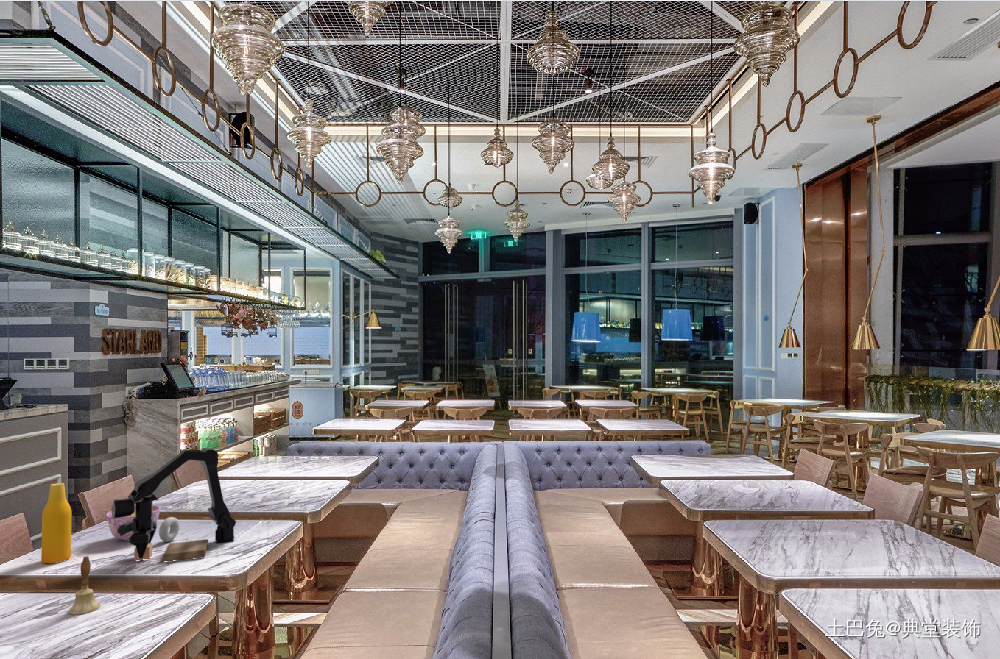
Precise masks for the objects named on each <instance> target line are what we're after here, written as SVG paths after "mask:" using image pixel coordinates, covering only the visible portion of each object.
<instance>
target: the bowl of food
mask: <svg viewBox="0 0 1000 659" xmlns="http://www.w3.org/2000/svg"><path fill="white" fill-rule="evenodd" d="M160 512H161V506H159V505H156V504H154V505H153V504H152V514H153V517H152V521H155V522H156V523H157V524H158V520H159V516H160ZM134 518H135V510H134V513H133V514H131V516H126V517H120V518H115V519H113V518H112V511H111V510H110V511H108V512H107V513H106V520H107V523H108V527H109V531H110V533H111V535H112V537H114V538H116V539H119V540H122V541H123V540H124V541H123V542H128V541H127V540H129V538H130V536H131V535H132V534H133V533H134V532H133V531H131V532H128V533H126V534H124V535H123V536H120V534H119V533H117V532H118V530H117V528H118V527H119V526H120V525H123V524H124V523H128V522H130V521H133V519H134ZM152 530H154V528H152ZM125 540H126V541H125Z"/></svg>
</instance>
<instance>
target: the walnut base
mask: <svg viewBox="0 0 1000 659" xmlns="http://www.w3.org/2000/svg"><path fill="white" fill-rule="evenodd" d="M207 548H209V538H208V539H197V540H191V541H190V540H189V541H181V542H171V543H169V544H168V545H167V547H166V549H165V551H164V553H163V556H162V558H163V560H162V561H163V562H164V561H173V560H181V561H186V560H185V559H189V560H194V559H193V558H198V559H202V558H201V557H206V554H207V552H208V549H207ZM206 551H207V552H206ZM163 562H162V563H163ZM173 562H174V561H173ZM164 563H165V562H164Z"/></svg>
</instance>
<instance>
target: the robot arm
mask: <svg viewBox="0 0 1000 659" xmlns="http://www.w3.org/2000/svg"><path fill="white" fill-rule="evenodd" d="M188 461H199V462H200V464H201V466H202V468H203V470H204V471H205V475H206V480H207V485H208V490H209V495H210V500H211V507H208V508H207V511H208V515H209V516H208V518H210V519H211V521H213V522H215V525H217V526H216V529H215V532H214V533H215V535H214V536H215V542H216V544H220V543H222V542H223V543H229V542H230V541H232V542H234V540H235V530H234V529H235V526H236V523H237V520H235V519H234V518H233V517H231V512H230V510H229V508H228V506H227V505H226V503H225V501H224V497H223V492H222V487H221V484H220V483H221V482H220V477H219V472H218V465H219V453H218V451H217V450H215V449H214V448H210V447H204V448H201V449H187V448H185V449H183V450H181V451H180V452H179V453H178V454H176V455H175V456H174V457H173V458H172V459H170V460H169V461H168V462H166V463H165V464H164V465H163V466H161V467H160V468H159V469H158V470H156V471H155V472H153V473H151V474H149V475H147V476H145V477H142V478H141V479H139V480H138V481H136V482H135V483H134V487H133V490H132V491H131V492H130V494H129V495H128V496H127V498H121V499H119V498H117V499H113V502H112V505H111V510H110V511H112V518H113V519H115V518H120V517H126V516H131V514H133V513H134V510H135V518H134V519H133V521H130V522H128V523H124V524H123V525H120V526H119V527H118V528H117V530H118V532H117V533H119V534H120V536H123V535H124V534H126V533H128V532H131V531H133V532H134V533H133V534H132V535H131V536H130V538H129V541H128V543H130V545H133V546H135V547H136V549H137V552H138V556H139V558H143V556H144V553H145V551H146V548H147V546H148V544H149V543H152V540H153V538H154V536H155V533H156V531H157V528H158V522H157V523H156V522H155V521H152V517H153V514H152V505H153V502H154V501H159V497H157V496H156V495H155V494H154V492H155V491H156V490H157V489H158V488H159V486H160V485H161V483H162V482H163V481H165V479H166V478H168V477H169V476H171V474H173V473H175V471H177V470H178V469H179V468H180V467H182V466H183V465H184V464H186V463H187V462H188ZM152 528H154V530H152ZM223 543H222V544H223Z"/></svg>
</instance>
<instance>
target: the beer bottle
mask: <svg viewBox="0 0 1000 659" xmlns="http://www.w3.org/2000/svg"><path fill="white" fill-rule="evenodd" d="M72 514H73V513H72V507H71V505H70V504H69V502H68V500H67V497H66V487H65V483H64V482H57V483H52V484H50V488H49V492H48V501H47V503H46V505H45V506H44V509H43V511H42V515H41V555H40V560H41V563H42V564H43V563H55V562H60V561H64V560H66V561H68V560H70V559H71V557H72ZM69 558H70V559H69ZM67 559H68V560H67ZM64 562H65V561H64ZM60 563H61V562H60ZM55 564H56V563H55Z"/></svg>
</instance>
